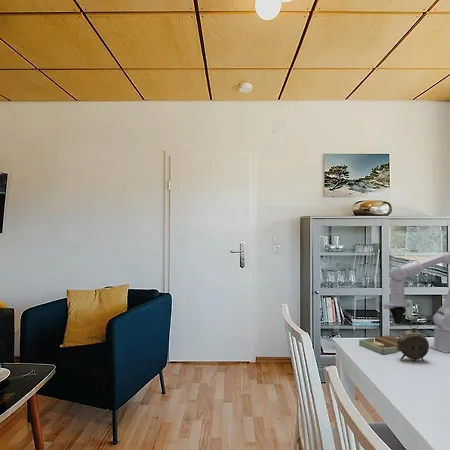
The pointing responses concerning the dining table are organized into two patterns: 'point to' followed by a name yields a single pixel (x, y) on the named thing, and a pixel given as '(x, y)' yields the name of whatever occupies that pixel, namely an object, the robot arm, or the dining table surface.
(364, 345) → the sage tray
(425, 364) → the dining table surface
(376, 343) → the maple tile
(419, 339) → the alarm clock
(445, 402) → the dining table surface
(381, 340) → the walnut board
